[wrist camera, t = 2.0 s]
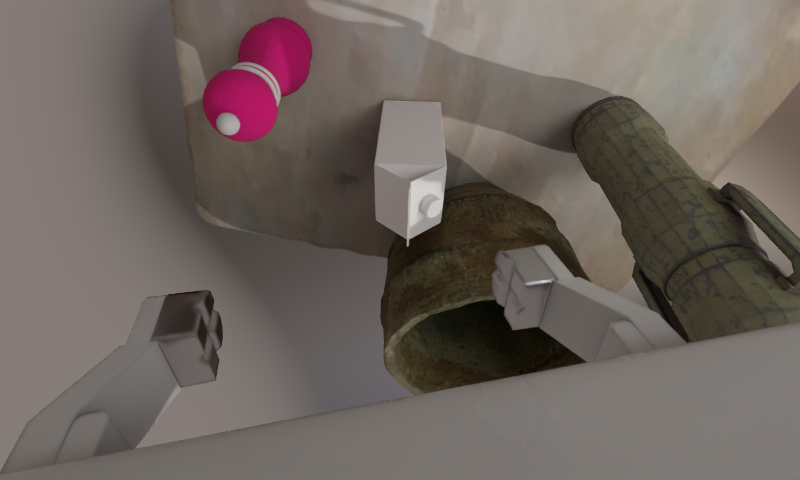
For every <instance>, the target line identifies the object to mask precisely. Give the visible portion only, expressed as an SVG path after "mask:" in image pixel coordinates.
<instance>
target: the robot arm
mask: <svg viewBox="0 0 800 480" xmlns="http://www.w3.org/2000/svg"><path fill="white" fill-rule="evenodd" d="M494 263H495V264H496V266H497V268H496V270H495V271H494V272H493V273H492V277H491V288H492V293H493V296H494V298H495V300H496V302H497V303H498V304H500V305H501V306H503V307H505V309H504V313H503V314H504V316H505V318H506V319H507V321H508V323H509V324H510V326H511V328H512V330H518V329H525V328H532V327H539V326H540V329H542V330H543V331H545V332H546V333H547V334H549V335H550V336H552V337H553V338H554V339H556V340H557V341H559V342H560V343H561V344H563V345H564V346H565V347H567V348H568V349H570V350H571V351H572V352H574V353H575V354H577V355H578V356H579V357H581V358H582V359H584V360H585V361H586V362H587V363H581V364H576V365H571V366H566V367H560V368H555V369H550V370H545V371H540V372H534V373H529V374H524V375H519V376H513V377H508V378H503V379H498V380H492V381H487V382H482V383H477V384H472V385H466V386H461V387H456V388H451V389H445V390H440V391H435V392H430V393H425V394H419V395H414V396H409V397H404V398H399V399H393V400H388V401H383V402H377V403H372V404H367V405H362V406H357V407H351V408H346V409H341V410H336V411H331V412H326V413H320V414H316V415H310V416H304V417H299V418H294V419H289V420H283V421H278V422H273V423H268V424H263V425H257V426H253V427H247V428H242V429H237V430H231V431H226V432H221V433H216V434H211V435H205V436H200V437H195V438H190V439H185V440H179V441H174V442H169V443H163V444H158V445H153V446H148V447H143V448H138V449H135V448H136V446H137V445H138V444H139V443H140V441H141V440H142V438H143V437H144V436H145V435H146V434H147V432H148V431H149V430H150V428H151V427H152V426H153V425H154V424H155V422H156V421H157V420H158V418H159V417H160V416H161V415H162V413H163V412H164V411H165V409H166V408H167V407H168V406H169V404H170V403H171V402H172V401H173V399H174V398H175V397H176V395H177V394H178V393H179V391H180V390H181V387H186V386H192V385H197V384H202V383H207V382H212V381H216V376H217V370H218V364H219V358H218V355H217V353H216V352H217V351H218V349H219V348H220V347H221V346H222V339H223V332H222V323H221V318H220V315H219V313H218V312H217V311H215V310H214V309H213V304H214V299H213V296H212V294H211V292H210V291H209V290H203V291H194V292H185V293H176V294H168V295H162V296H153V297H147V298H146V299H145V300H144V301H143V303H142V305H141V308H140V310H139V313H138V315H137V318H136V320H135V323H134V325H133V328H132V330H131V333H130V335H129V338H128V340H127V343H126V345H124V346H119V347H118V348H117V349H115V350H114V351H113V352H112V353H111V354H110V355H108V356H107V357H106V358H104V359H103V360H102V361H101V362H100V363H98V364H97V365H96V366H95V367H93V368H92V369H91V370H90V371H89V372H88V373H86V374H85V375H84V376H83V377H82V378H80V379H79V380H78V381H77V382H75V383H74V384H73V385H72V386H71V387H69V388H68V389H67V390H66V391H64V392H63V393H62V394H61V395H60V396H59V397H57V398H56V399H55V400H54V401H52V402H51V403H50V404H49V405H48V406H46V407H45V408H44V409H43V410H41V411H40V412H39V413H38V414H37V415H36V416H34V417H33V418H32V419H31V420H29V421H28V422H27V423H26V425H25V427H24V429H23V431H22V433H21V435H20V436H19V438H18V440H17V442H16V444H15V446H14V448H13V449H12V451H11V453H10V455H9V457H8V459H7V460H6V462H5V464H4V466H3V468H2V470H1V472H0V480H800V322H794V323H789V324H784V325H779V326H774V327H769V328H764V329H759V330H754V331H748V332H743V333H738V334H733V335H728V336H722V337H717V338H712V339H707V340H701V341H696V342H691V343H686V342H685V341H684V340H683V339H682V337H681V336H680V335H679V334H678V333H677V332H676V331H675V330H674V329H673V328H672V327H671V326H670V325H669V324H668V323H667V322H666V321H665V320H664V319H663V318H662V317H661V316H660V315H659V314H658V313H656V312H654V311H652V310H650V309H648V308H645V307H643V306H641V305H639V304H637V303H635V302H632V301H630V300H628V299H626V298H624V297H622V296H619V295H617V294H615V293H613V292H611V291H609V290H606V289H604V288H602V287H600V286H598V285H596V284H594V283H591V282H589V281H587V280H585V279H583V278H581V277H576V278H575V277H574V276H573V275H572V274H571V272H570V271H569V270H568V269H567V268H566V266H565V265H564V264H563V263H562V262H561V261H560V259H559V258H558V257H557V256H556V255H555V254H554V252H553V251H552V250H551V249H550V248H549V246H547V245H545V244H543V245H536V246H530V247H525V248H518V249H511V250H504V251H498V252H497V254H496V255H495V260H494Z"/></svg>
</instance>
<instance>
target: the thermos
mask: <svg viewBox="0 0 800 480" xmlns="http://www.w3.org/2000/svg"><path fill="white" fill-rule="evenodd" d="M572 143H573V146H574V148H575V149H576V151H577V156H578V158H579V159H580V161H581V163H582V165H583V167H584V168H585V170H586V172H587V174H588V175H589V177H590V178H591V180H593V181H594V182H596V183H598V184H600V186H601V188H602V190H603V191H604V193H605V195H606V197H607V198H608V200H609V202H610V204H611V205H612V207H613V209H614V211H615V212H616V214H617V216H618V217H619V219H620V221H621V228H622V235H623V237H624V238H625V240H626V242H627V244H628V246H629V247H630V249H631V251H632V253H633V254H634V256H633V257H634V259H635V261H636V262H635V265H634V270H633V274H632V277H633V279H634V280H635V282H636V284H637V286H638V288H639V290H640V291H641V293H642V295H643V297H644V299H645V301H646V303H647V305H648V307H649V309H650V310H652V311H654V312H656V313H658V314H659V315H660V316H661V317H662V318H663V319H664V320H665V321H666V322H667V323H668V324H669V325H670V326H671V327H672V328H673V329H674V330H675V331H676V332H677V333H678V334H679V335H680V336H681V337H682V339H683V340H684V341H685V342H686V343H691V342H696V341H701V340H707V339H712V338H717V337H722V336H728V335H733V334H738V333H743V332H748V331H754V330H759V329H764V328H769V327H774V326H779V325H784V324H789V323H794V322H800V239H799V238H798V237H797V236H796V235H795V234H794V233H793V232H792V231H791V230H790V229H789V228H788V227H787V226H786V225H785V224H784V223H783V222H782V221H781V220H780V219H779V218H778V217H777V216H776V215H774V213H772V212H771V211H770V210H769V209H768V208H767V207H766V206H765V205H764V204H763V203H762V202H761V201H760V200H759V199H758V198H756V197H755V196H754V195H753V194H752V193H751V192H749V191H748V190H746V189H745V188H743V187H742V186H739V185H735V184H732V183H727V184H726V185H725V186H723V187H722V188H721V190H720V189H719V188H717V187H716V186H715V185H714V184H712V183H711V182H710V181H706V180H703V179H701V178H700V177H699V176H698V174H697V173H696V172H695V171H694V170H693V169H692V168H691V167H690V166H689V165H688V163H687V162H686V161H685V160H684V159H683V158H682V157H681V156H680V155H679V154H678V153H677V151H676V150H675V149H674V148H673V147H672V146H671V145H670V144H669V141H668V137H667V134H666V132H665V130H664V129H663V127H662V126H661V125H660V124H659V123H658V122H657V121H656V120H655V119H654V118H653V117H652V116H651V115H650V114H649V113H648V112H647V111H645V110H644V109H643V108H642V107H641V106H640V105H639V104H637V103H636V102H635V101H633V100H632V99H629V98H625V97H622V96H621V97H609V98H606V99H603V100H600V101H598V102H596V103H595V104H593V105H591V106H590V107H588V108H587V109H586V110H585V111H584V112H583V113H582V114H581V115H580V116H579V118H578V119H577V121H576V123H575V125H574V127H573V131H572ZM741 209H742V210H743V211H744V212H745V213H746V214H747V215H748V216H749V218H750V219H751V220H752V221H753V222H754V223H755V224H756V225H757V226H758V227H759V228H760V229H761V230H762V231H763V232H764V233H765V234H766V235H767V236H768V238H769V239H770V240H771V241H772V242H773V243H774V244H775V245H776V246H777V247H778V248H779V249H780V250H781V251H782V252H783V253H784V254H785V255H786V256H787V257H788V259H789V260H790V261H791V262H792V267H793V270H794V273H793V274H792V275H790V276H789V277H788V276H787V275H786V274H785V273H784V272H783V271H782V270H781V268H780V267H778V266H777V265H775V264H774V263H773V262H771V261H769V259H768V256H767V253H766V252H765V251H764V250H763V249H762V247H761V246H760V245H759V243H758V240H757V237H756V233H755V231H754V228H753V225H752V223H751V222H750V221H749V220H748V219H747V218H746V217H745V216H744V215H743V214H742V213H741V212H740V210H741ZM661 289H662V290H663V292H664V293H663V292H662V290H661ZM664 294H665V295H666V297H667V298H668V300H670V301H672V307H673V309H674V310H675V312H676V314H677V316H678V318H679V319H680V321H681V323H682V325H683V326H684V328H685V330H686V331H687V333H688V335H689V336H688V335H687V333H686V332H685V330H684V328H683V326H682V325H681V323H680V321H679V319H678V318H677V316H676V314H675V312H674V311H673V309H672V307H671V306H670V304H669V302H668V300H667V299H666V297H665V295H664Z"/></svg>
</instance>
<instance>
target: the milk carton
mask: <svg viewBox="0 0 800 480" xmlns="http://www.w3.org/2000/svg"><path fill="white" fill-rule="evenodd" d="M446 171H447V163H446V152H445V142H444V132H443V122H442V112H441V103H440V102H424V101H391V100H384V101H383V108H382V115H381V122H380V129H379V135H378V142H377V149H376V156H375V163H374V179H375V215H376V221H378V222H379V223H381V224H383V225H384V226H386V227H388V228H389V229H391V230H392V231H394V232H396V233H397V234H399V235H400V236H402V237H404V238H405V239H407V246H409V239H411V238H413V237H415V236H417V235H418V234H420V233H422V232H424V231H426V230H428V229H430V228H431V227H433V226H435V225H437V224H439V223H440V222H441V217H442V209H443V200H444V190H445V181H446Z"/></svg>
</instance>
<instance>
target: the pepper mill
mask: <svg viewBox="0 0 800 480" xmlns="http://www.w3.org/2000/svg"><path fill="white" fill-rule="evenodd" d="M311 57H312V46H311V42H310V40H309V38H308V36H307V34H306V32H305V31H304V30H303V29H302V28H301V27H300V26H299V25H298V24H297V23H295V22H294V21H292V20H289V19H286V18H280V17H279V18H272V19H270V20H268V21H266V22H265V23H261V24H258V25H256V26H254V27H253V28H251V29H250V30H249V31H248V32H247V34H246V35H245V36H244V38H243V39H242V42H241V44H240V48H239V54H238V61H239V63H238V64H236V65H234V66H233V67H231V69H230V70H224V71H222V72H220V73H218V74H216V75H215V76H214V77H213V78H212V79H211V80H210V81H209V83H208V84H207V86H206V88H205V91H204V95H203V108H204V112H205V114H206V117H207V119H208V120H209V122H210V124H211V125H212V126H213V127H214V128H215V129H216V130H217V131H218V132H219V133H220V134H222V135H223V136H225V137H227V138H229V139H231V140H235V141H240V142H249V141H254V140H257V139H259V138H262V137H263V136H265V135H266V134H267V133H268V132H269V131H270V130H271V129H272V127H273V125H274V123H275V121H276V118H277V113H278V108H277V107H278V105H279V103H280V98H281V97H283V96H286V95H289V94H291V93H293V92H295V91H297V90H298V89H299V88H300V87H301V86H302V85H303V83H304V82H305V80H306V79H307V76H308V74H309V69H310V61H311Z"/></svg>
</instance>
